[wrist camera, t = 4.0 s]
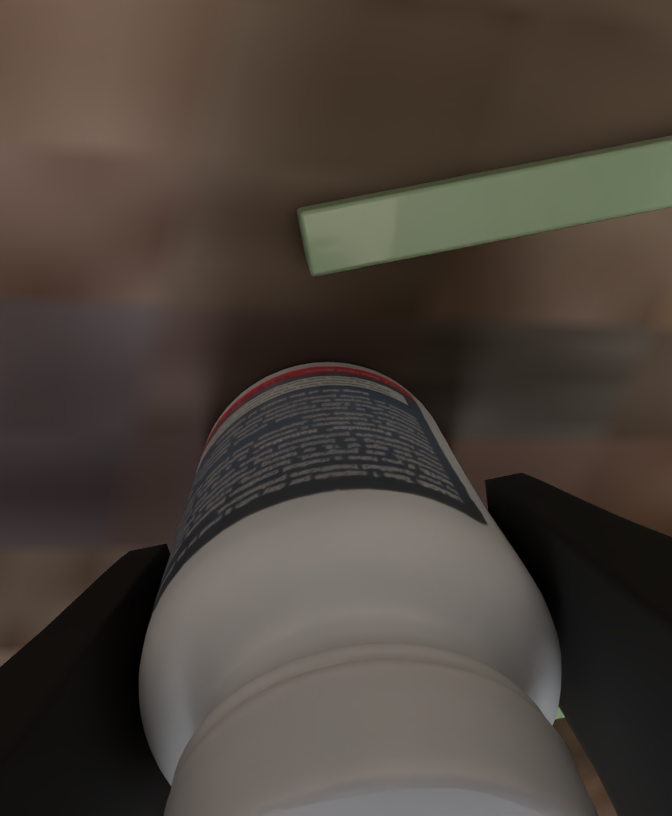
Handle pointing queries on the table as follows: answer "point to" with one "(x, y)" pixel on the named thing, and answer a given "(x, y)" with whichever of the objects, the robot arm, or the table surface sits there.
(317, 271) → the holder
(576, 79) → the table surface
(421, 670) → the pill bottle
